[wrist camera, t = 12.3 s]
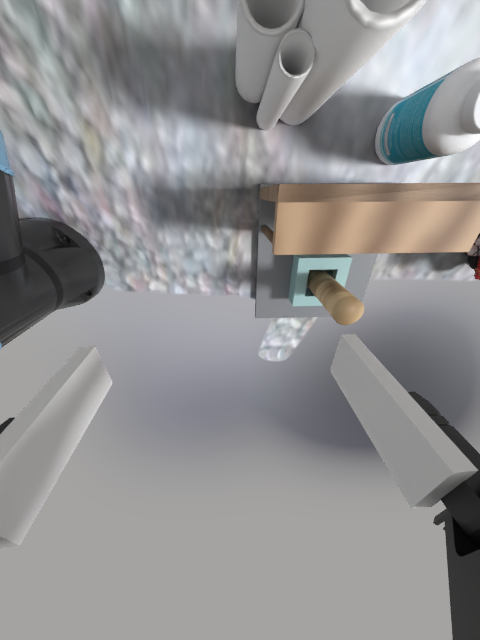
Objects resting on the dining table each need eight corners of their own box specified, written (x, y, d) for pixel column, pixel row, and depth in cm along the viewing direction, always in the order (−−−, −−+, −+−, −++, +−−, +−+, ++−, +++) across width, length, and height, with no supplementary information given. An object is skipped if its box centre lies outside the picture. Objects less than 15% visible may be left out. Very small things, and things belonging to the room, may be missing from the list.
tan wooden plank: (258, 231, 37) (273, 255, 23) (259, 187, 33) (279, 184, 19) (381, 230, 37) (468, 252, 23) (395, 186, 34) (507, 182, 20)
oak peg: (302, 286, 41) (330, 325, 29) (305, 266, 39) (337, 299, 27) (322, 286, 41) (359, 324, 29) (326, 266, 39) (368, 298, 27)
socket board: (255, 315, 45) (257, 327, 42) (259, 184, 33) (263, 182, 29) (354, 313, 46) (366, 324, 42) (396, 183, 33) (418, 181, 30)
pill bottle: (385, 177, 33) (468, 169, 22) (363, 134, 30) (444, 98, 19) (434, 133, 30) (558, 97, 19) (414, 81, 28) (545, 1, 16)
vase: (325, 53, 26) (505, -216, 9) (315, 129, 30) (428, 44, 13) (234, 53, 26) (240, -224, 9) (236, 130, 29) (242, 44, 12)
